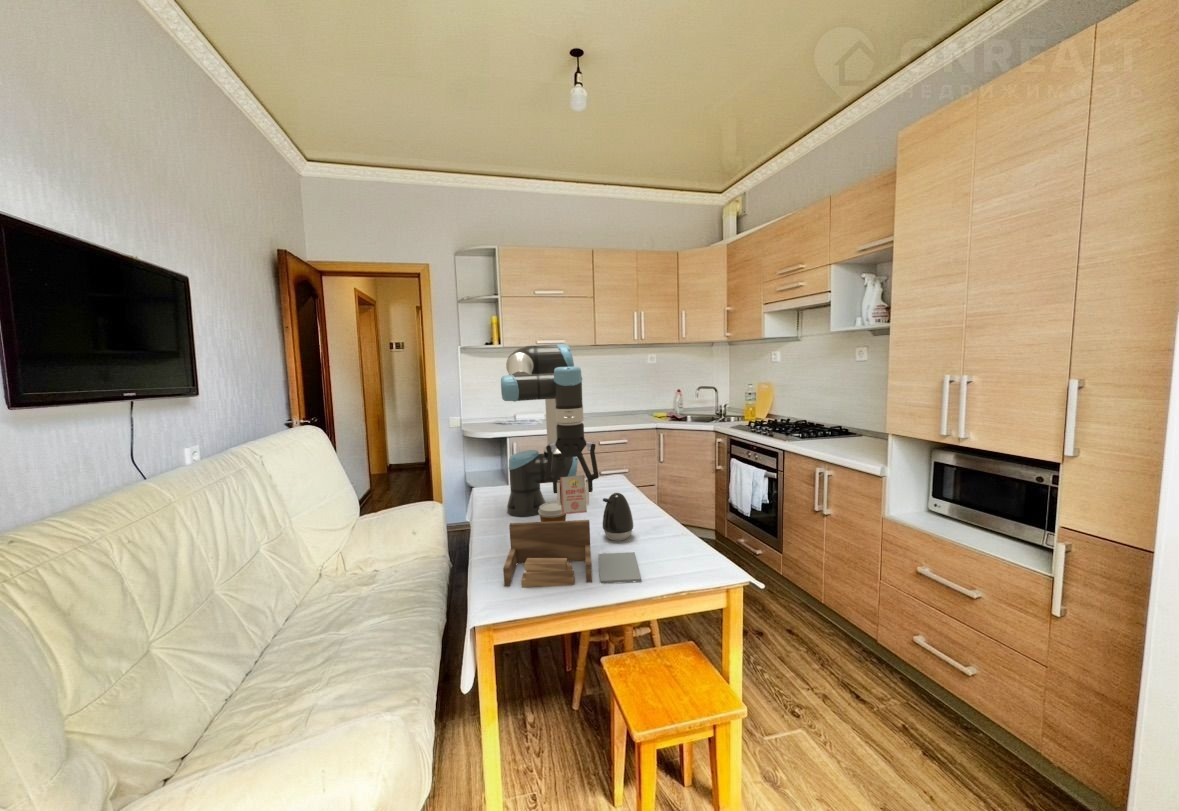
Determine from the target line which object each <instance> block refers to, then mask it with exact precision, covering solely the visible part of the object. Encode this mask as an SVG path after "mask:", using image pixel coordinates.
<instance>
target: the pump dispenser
mask: <svg viewBox="0 0 1179 811" xmlns="http://www.w3.org/2000/svg"><path fill="white" fill-rule="evenodd" d="M602 501H603V502H604V503H606V504H605V507H604V511H603V516H602V529H603V532H604V534H605V536H606V537H607V538H609V539H610V540H612V541H616V542H617V541H624V540H626V539H628V538H629V537H630V536H631V534H632V532H633V529H634V519H633V514H632V510H631V507H630V505H629V502H628V500H627V498H626V496H624V494H622V493H621V492H614V493H612V494H611V495H609V497H608V498H605V497H603V499H602Z"/></svg>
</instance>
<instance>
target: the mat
mask: <svg viewBox="0 0 1179 811" xmlns="http://www.w3.org/2000/svg"><path fill="white" fill-rule="evenodd" d="M597 555H598V556H597V557H598V567H599V568H598V570H599V582H600V583H604V584H615V583H614V582H626V583H634V582H633V581H642V580H643V579H642V575H641V572H640V568H639V563H638V560H637V555H636V553H635V551H633V552H632V551H628V552H609V553H607V552H606V553H604V552H603V553H598V554H597Z"/></svg>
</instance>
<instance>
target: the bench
mask: <svg viewBox="0 0 1179 811" xmlns="http://www.w3.org/2000/svg"><path fill="white" fill-rule="evenodd" d="M508 527H509V540H510V541H509V543H510V549H509V552H508V555H507V558H506V560H505V563H504V565H503V568H502V569H503V570H502V571H503V585H504V587H510V586H511V585H512V580H513V577H514V575H515V571H516V568H517V565H518V564H517V563H525V562H526V560H527V558H567V561H569V562H585V579H586V581H585V582H586V583H593V576H592V575H593V574H592V571H593V570H592V552H591V531H590V530H591V528H590V527H591V526H590V519H576V520H573V519H572V520H566V521H549V522H541V521H533V522H532V521H531V522H529V521H528V522H510V523H509V526H508ZM516 564H517V565H516ZM513 574H514V575H513Z"/></svg>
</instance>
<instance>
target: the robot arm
mask: <svg viewBox="0 0 1179 811" xmlns="http://www.w3.org/2000/svg"><path fill="white" fill-rule="evenodd" d="M505 368H506V371H507V373H508V375H502V376H501V377H500V389H501V399H502V400H503V401H504V402H514V403H515V402H522V401H525V402H526V401H537V400H538V401H539V400H544V401H545V422H546V423H545V424H546V438H547V439H546V442H547V444H546V446H545V447H544V448H543V453H540V452H539V451H538V450H537V449H527V450H521V451H518V452H515V453H514V454H512V455H510V457H509V459H508V470H509V486H510V494H509V498H508V501H507V504H506V509H507V514H508V515H510V516H513V517H518V518H519V517H524V518H525V517H531V516H532V517H533V516H537V515H539V513H538V510H539V507H540V506H541V505H542V504H545V503H546V500H545V498H544V495H543V493H542V491H541V484H550V483H552V490H553V491H552V493H553V494H557V502H558V506H561V488H560V477H569V476H577V474H578V473H577V472H578V461H579V464H580V466H581V468H582V470H583V473H584V476H585V478H586V479H585V489H586V506H589V505H590V494H589V493H593V481H594V480H597V479H599V477H600V476H599V471H598V469H599V468H598V463H597V459H596V454H595V450H596V442H588V441H587V440H586V439H585V425H584V423H583V421H584V405H583V377H582V370H581V367H579V366H575V363H574V357H573V353H572V350H571V348H570V346H569V345H567V344H558V343H556V344H544V345H539V344H538V345H527V346H522V347H521V348H518V349H517V350H514V351H513V352H512V353H510V354H509V356H508V357H507V360H506V367H505ZM585 447H586V448H587V450H588V451H589V455H590V460H591V465H592V472H593V473H591V470H590V469H589V466H588V463H587V461H586V459H585V457H584V454H583V450H584V449H585Z"/></svg>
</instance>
